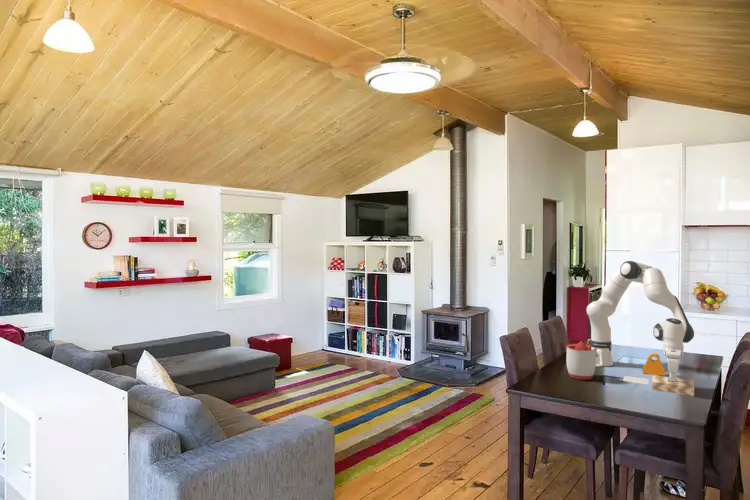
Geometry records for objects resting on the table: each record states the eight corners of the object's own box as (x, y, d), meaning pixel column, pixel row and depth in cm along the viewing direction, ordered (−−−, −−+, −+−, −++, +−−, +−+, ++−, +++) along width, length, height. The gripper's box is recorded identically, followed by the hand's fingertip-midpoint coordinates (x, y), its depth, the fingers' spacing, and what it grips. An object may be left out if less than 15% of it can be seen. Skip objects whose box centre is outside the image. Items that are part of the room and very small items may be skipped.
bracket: (665, 374, 289) (665, 353, 288) (664, 377, 283) (665, 355, 282) (643, 371, 294) (644, 351, 294) (642, 374, 288) (643, 353, 288)
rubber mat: (622, 381, 273) (622, 381, 273) (624, 376, 283) (624, 375, 283) (648, 385, 267) (648, 384, 267) (649, 379, 277) (649, 378, 277)
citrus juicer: (604, 381, 274) (605, 344, 274) (573, 381, 273) (574, 344, 272) (590, 373, 290) (591, 338, 289) (560, 373, 288) (561, 338, 288)
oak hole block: (652, 390, 257) (652, 381, 257) (652, 383, 269) (652, 375, 269) (694, 396, 248) (694, 387, 248) (692, 389, 260) (693, 380, 260)
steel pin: (669, 390, 258) (669, 372, 258) (669, 388, 261) (669, 371, 261) (676, 391, 257) (676, 373, 257) (676, 389, 259) (676, 371, 259)
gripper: (666, 346, 269) (665, 372, 269) (666, 354, 251) (665, 382, 252) (680, 348, 266) (679, 374, 266) (680, 355, 248) (680, 384, 248)
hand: (672, 378), depth 259 cm, fingers open, 8 cm apart
